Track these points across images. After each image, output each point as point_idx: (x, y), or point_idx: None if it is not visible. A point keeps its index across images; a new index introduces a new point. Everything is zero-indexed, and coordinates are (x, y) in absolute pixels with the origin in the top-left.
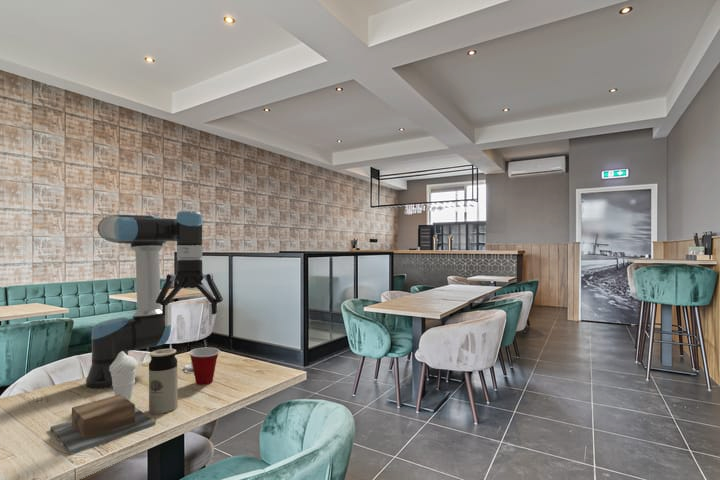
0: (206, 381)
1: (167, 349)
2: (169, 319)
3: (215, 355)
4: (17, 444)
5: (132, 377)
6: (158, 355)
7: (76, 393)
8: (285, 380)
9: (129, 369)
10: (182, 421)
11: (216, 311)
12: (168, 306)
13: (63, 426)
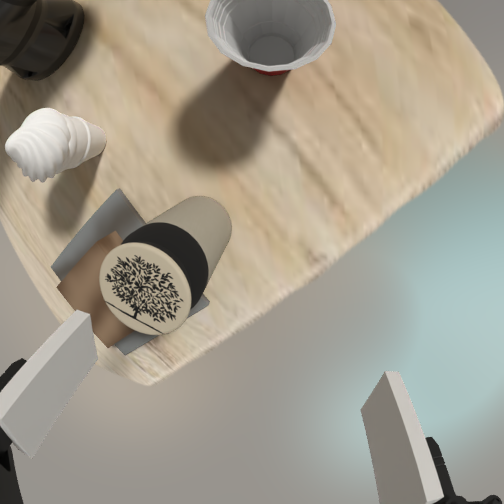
0: (281, 73)
1: (143, 260)
2: (75, 363)
3: (321, 47)
4: (48, 296)
5: (79, 150)
6: (145, 333)
7: (18, 102)
8: (479, 134)
9: (60, 167)
10: (261, 304)
11: (432, 456)
12: (29, 443)
13: (66, 273)
